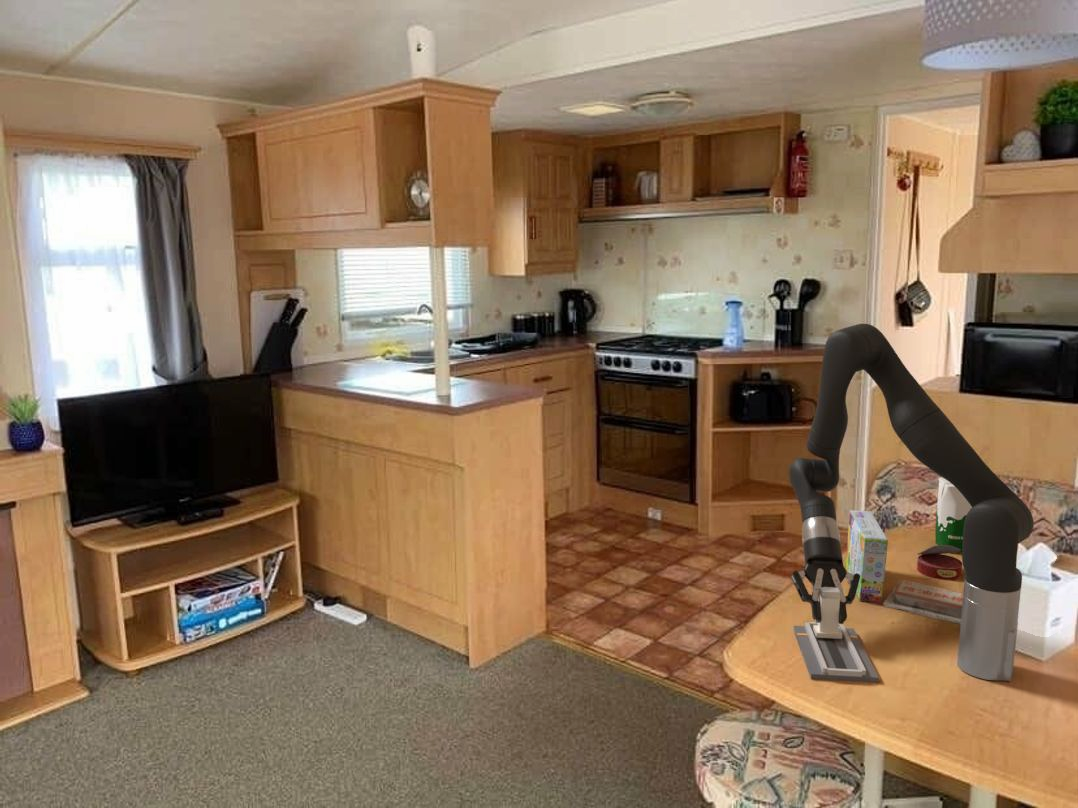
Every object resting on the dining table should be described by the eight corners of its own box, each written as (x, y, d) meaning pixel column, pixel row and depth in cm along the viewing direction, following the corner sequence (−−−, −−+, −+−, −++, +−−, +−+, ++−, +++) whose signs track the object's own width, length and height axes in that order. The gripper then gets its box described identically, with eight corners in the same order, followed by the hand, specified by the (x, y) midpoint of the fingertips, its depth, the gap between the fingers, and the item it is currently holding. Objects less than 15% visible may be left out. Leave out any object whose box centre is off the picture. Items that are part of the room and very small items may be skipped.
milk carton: (965, 543, 222) (971, 470, 218) (977, 555, 213) (984, 480, 209) (930, 541, 223) (936, 469, 220) (940, 553, 215) (946, 479, 211)
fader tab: (838, 630, 170) (840, 586, 168) (842, 638, 166) (844, 593, 165) (813, 629, 171) (815, 585, 169) (816, 637, 167) (818, 592, 165)
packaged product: (983, 592, 181) (973, 608, 173) (981, 612, 181) (971, 629, 174) (896, 572, 191) (883, 587, 184) (894, 592, 192) (882, 607, 185)
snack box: (885, 603, 186) (889, 539, 183) (858, 601, 187) (862, 538, 184) (867, 567, 206) (871, 509, 203) (843, 566, 207) (847, 508, 204)
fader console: (853, 632, 172) (853, 623, 172) (878, 682, 152) (879, 672, 152) (793, 630, 174) (793, 621, 173) (810, 678, 154) (811, 669, 154)
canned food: (920, 592, 202) (901, 555, 203) (932, 576, 210) (914, 540, 210) (966, 583, 195) (946, 544, 195) (977, 566, 202) (958, 528, 202)
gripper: (789, 534, 173) (796, 613, 164) (860, 536, 171) (871, 617, 162) (784, 549, 179) (791, 626, 170) (852, 551, 178) (863, 630, 168)
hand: (830, 621), depth 166 cm, fingers open, 3 cm apart
